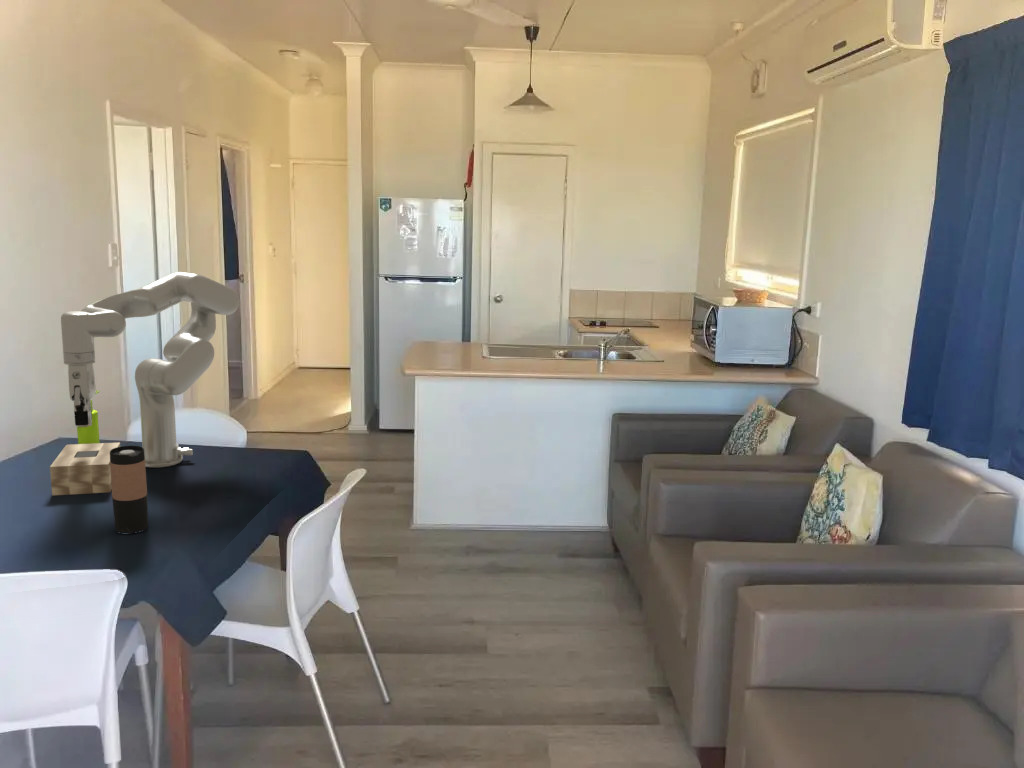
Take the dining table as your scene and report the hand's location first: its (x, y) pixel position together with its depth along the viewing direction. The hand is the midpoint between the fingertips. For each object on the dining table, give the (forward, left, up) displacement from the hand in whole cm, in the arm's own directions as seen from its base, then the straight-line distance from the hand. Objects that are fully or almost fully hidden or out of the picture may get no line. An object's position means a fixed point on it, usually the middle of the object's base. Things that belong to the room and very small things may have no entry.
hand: (83, 422), depth 223 cm
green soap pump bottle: (+4, -27, -17) cm, 33 cm away
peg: (0, 0, -1) cm, 1 cm away
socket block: (0, 0, -17) cm, 17 cm away
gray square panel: (0, 0, -10) cm, 10 cm away
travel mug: (-16, +37, -17) cm, 44 cm away
